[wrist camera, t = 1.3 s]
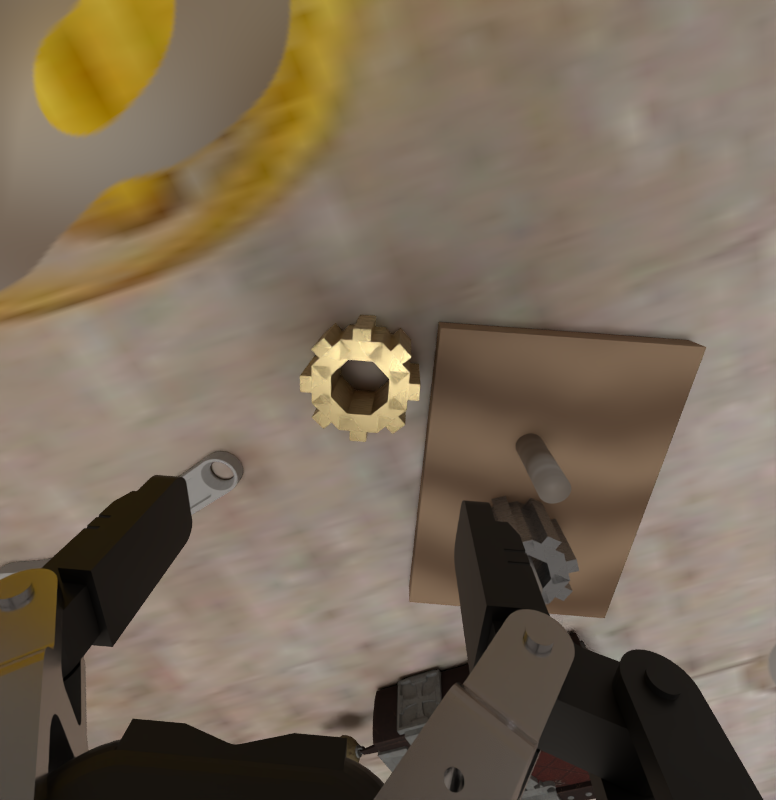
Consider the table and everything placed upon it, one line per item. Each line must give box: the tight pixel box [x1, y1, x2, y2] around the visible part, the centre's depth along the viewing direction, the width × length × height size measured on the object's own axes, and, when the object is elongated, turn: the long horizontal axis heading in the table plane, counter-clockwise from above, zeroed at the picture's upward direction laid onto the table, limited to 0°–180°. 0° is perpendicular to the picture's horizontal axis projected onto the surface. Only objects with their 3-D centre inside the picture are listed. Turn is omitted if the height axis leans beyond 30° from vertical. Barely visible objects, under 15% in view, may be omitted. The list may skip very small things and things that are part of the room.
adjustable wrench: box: [0, 451, 243, 580], centre depth 30 cm, size 25×6×2 cm, turn 120°
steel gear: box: [491, 496, 579, 604], centre depth 25 cm, size 6×6×4 cm
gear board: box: [409, 322, 706, 618], centre depth 24 cm, size 20×14×6 cm
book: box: [341, 633, 596, 800], centre depth 35 cm, size 15×25×5 cm, turn 118°
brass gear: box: [300, 315, 420, 442], centre depth 23 cm, size 6×6×4 cm
